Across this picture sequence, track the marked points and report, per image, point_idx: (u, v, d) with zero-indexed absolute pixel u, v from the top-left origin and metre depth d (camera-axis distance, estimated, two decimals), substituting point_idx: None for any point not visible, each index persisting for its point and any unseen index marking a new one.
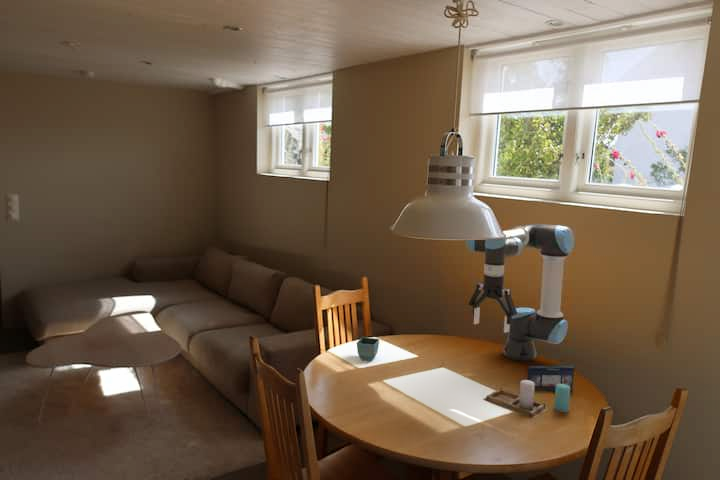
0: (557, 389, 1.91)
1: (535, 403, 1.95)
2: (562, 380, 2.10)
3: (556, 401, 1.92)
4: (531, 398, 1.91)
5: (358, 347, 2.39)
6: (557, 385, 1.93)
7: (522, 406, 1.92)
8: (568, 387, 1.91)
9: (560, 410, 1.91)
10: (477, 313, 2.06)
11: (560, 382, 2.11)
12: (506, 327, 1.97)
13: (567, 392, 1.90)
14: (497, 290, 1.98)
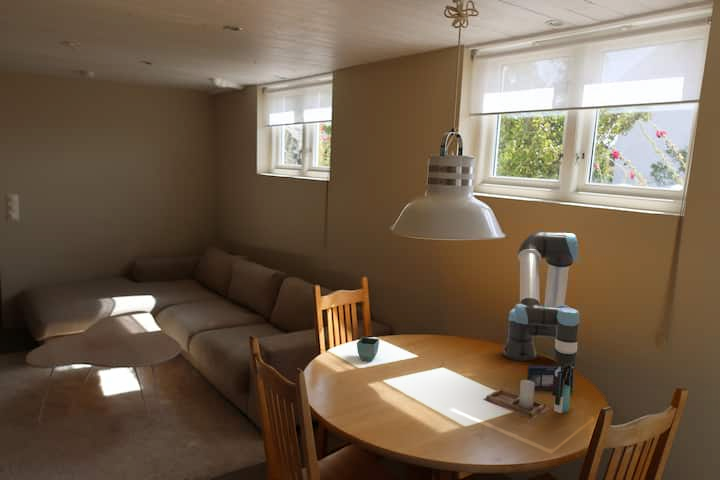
0: None
1: (535, 403, 1.95)
2: None
3: None
4: (531, 398, 1.91)
5: (358, 347, 2.39)
6: None
7: (522, 406, 1.92)
8: (568, 387, 1.91)
9: None
10: None
11: None
12: (555, 406, 1.91)
13: (567, 392, 1.90)
14: None
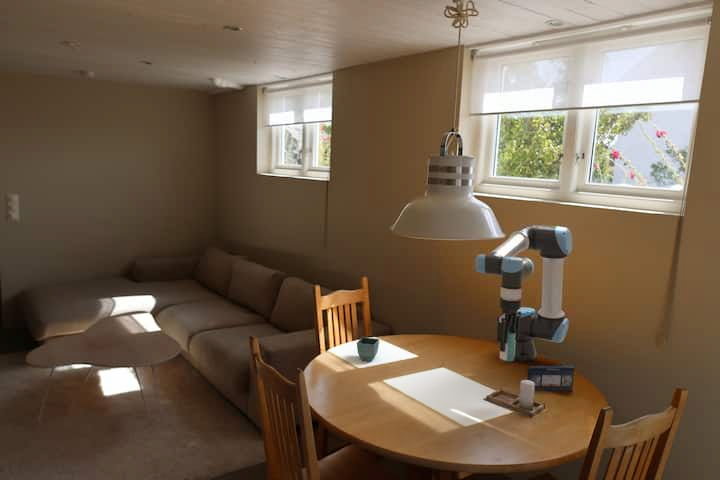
0: None
1: (535, 403, 1.95)
2: (562, 380, 2.10)
3: None
4: (531, 398, 1.91)
5: (358, 347, 2.39)
6: None
7: (522, 406, 1.92)
8: (513, 334, 1.95)
9: None
10: None
11: (560, 382, 2.11)
12: (501, 353, 1.96)
13: (512, 339, 1.94)
14: None
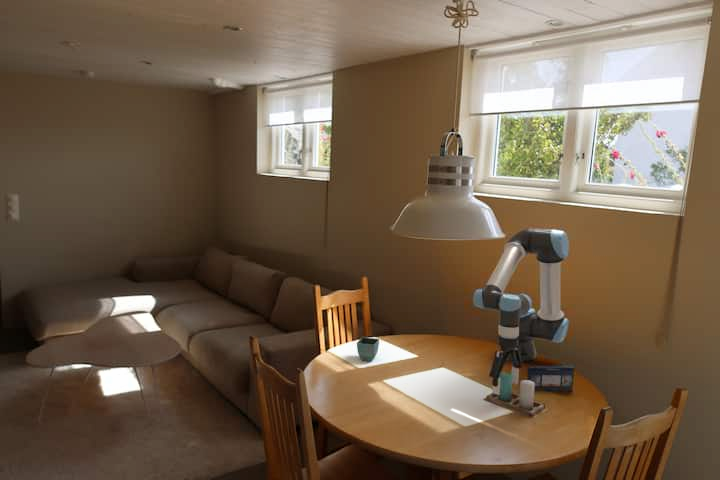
0: (500, 378, 1.98)
1: (535, 403, 1.95)
2: (562, 380, 2.10)
3: None
4: (531, 398, 1.91)
5: (358, 347, 2.39)
6: (500, 374, 1.99)
7: (522, 406, 1.92)
8: (510, 376, 1.98)
9: (503, 398, 1.98)
10: (514, 373, 2.03)
11: (560, 382, 2.11)
12: (493, 388, 1.95)
13: (509, 381, 1.96)
14: None
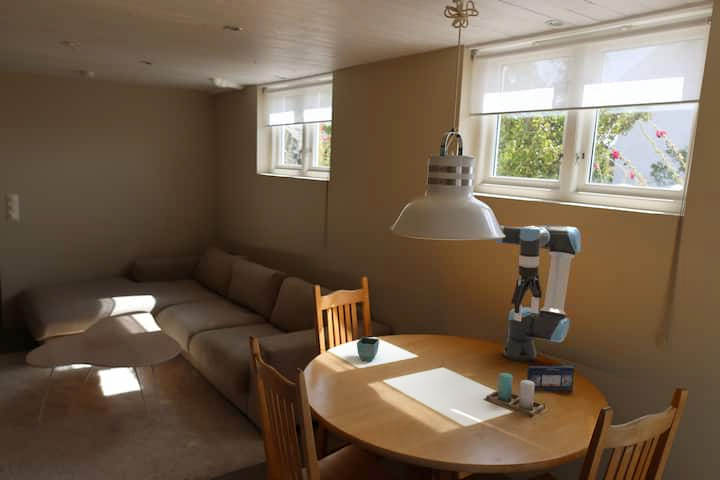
0: (500, 378, 1.98)
1: (535, 403, 1.95)
2: (562, 380, 2.10)
3: (499, 390, 1.98)
4: (531, 398, 1.91)
5: (358, 347, 2.39)
6: (500, 374, 1.99)
7: (522, 406, 1.92)
8: (510, 376, 1.98)
9: (503, 398, 1.98)
10: (534, 302, 2.13)
11: (560, 382, 2.11)
12: (515, 315, 2.05)
13: (509, 381, 1.96)
14: None
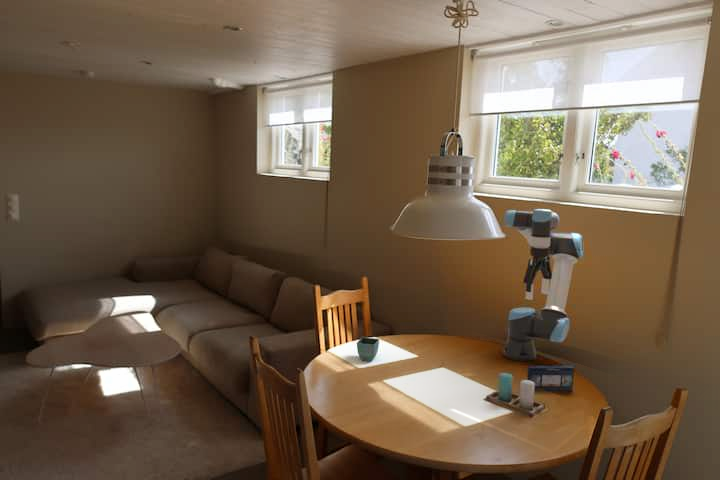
0: (500, 378, 1.98)
1: (535, 403, 1.95)
2: (562, 380, 2.10)
3: (499, 390, 1.98)
4: (531, 398, 1.91)
5: (358, 347, 2.39)
6: (500, 374, 1.99)
7: (522, 406, 1.92)
8: (510, 376, 1.98)
9: (503, 398, 1.98)
10: (544, 284, 2.20)
11: (560, 382, 2.11)
12: (527, 294, 2.12)
13: (509, 381, 1.96)
14: None
